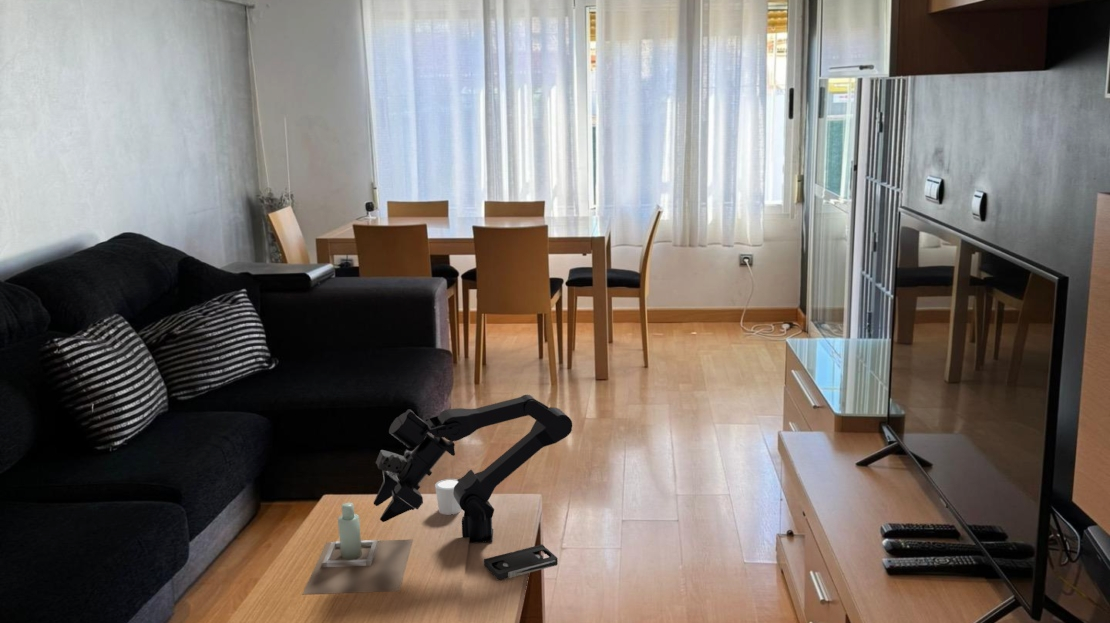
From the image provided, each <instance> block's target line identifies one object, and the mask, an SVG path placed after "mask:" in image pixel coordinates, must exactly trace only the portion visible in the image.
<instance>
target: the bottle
mask: <svg viewBox="0 0 1110 623" xmlns="http://www.w3.org/2000/svg"><path fill="white" fill-rule="evenodd" d="M354 507H355V506H354V503H352V502H344V503H343V504H341V515H340V516H339V517H337V523H338V536H339V537H338V538H339V541H340V551H341V558H342V559H344V560H354V559H357V558H359V557H361V555H362V549H361V541H362V539H361V525H360V515H359V514H357V513H355V508H354Z"/></svg>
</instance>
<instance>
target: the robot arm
mask: <svg viewBox="0 0 1110 623" xmlns="http://www.w3.org/2000/svg"><path fill="white" fill-rule="evenodd" d="M526 416H529V417H531V418H532V419H534V420H535V421H534V423H533V425H532V428H530V430H529V432H527V434H525V436H523V437H522V438H521V439H519V440H518V441H517V442H516V443H514V444H513V445H512V446H511V447H510V448H509V449H507V450H506V451H505V452H504V453H503V454H501V455H500V456H499V457H498V458H497V459H495V460H494V461H493V462H492V463H491V464H490V465H488V466H487V467H486V468H484V470H481V471H479V472H474V471H473V470H472V469H470V470H468V471H467V472H466V473H465V474H464V475H463V476H462V477H461V478H458V479H457V481H458V483H457V484H456V485H455V487H454V492H453V494H454V498H455V499H456V501H457V502H458V504H459V506H460V507H461V509H462V510H461V511H463V516H462V517H461V534H462V538H464V539H467V538H469V540H468V544H478V543H479V544H481V543H492V542H493V537H494V528H493V516H494V512H495V508H494V507H493V506H492V504H491V503H490V501H489V500H490V498H491V497H492V494H493V493H494V491H495V489H496V488H497V486H498V485H500V484H501V483H502V482H503V481H505V480H506V479H507V478H508V477H509V476H510V475H512V474H513V473H515V471H516V470H518V469H519V468H520V467H522V465H524V464H525V463H526V462H527V461H528V460H529V459H531V458H532V457H533V456H534V455H536V454H537V453H538V452H539V451H540V450H542V449H543V448H545V447H549V446H550V445H554V444H558V443H559V442H560V441H562V440H564V439H565V438H566V437H568V436H569V435H570V434H571V433H572V431H573V421H572V419H571V418H570V417H569V416H568V415H567V414H566V413H565V412H563V411H562V410H561V409H560V408H559V407H552V406H551V407H549V406H547V405H546V404H544V403H542V402H541V401H539V400H537V399H535V398H534V397H533V396H532V395H530V394H523V395H521V396H519V397H516V398H512V399H508V400H507V399H506V400H504V401H500V402H496V403H495V402H494V403H491V404H488V405H484V406H481V407H476V408H463V407H460V408H449V409H444V410H441V412H439V414H438V415H434V416H431V417H427V418H424V419H421V418H420V417H419V416H417V415H416V414H415V412H414V411H413V410H412V409H407V410H405V412H403V413H401V414H400V415H399V416H396V418H394V419H393V422H391V424H390V426H389V428H388V433H389V434H390V435H391V436H393V437H394V438H395V439H397V440H398V441H399V442H400V443H402V444H403V445H404V446H406V447H407V448H409V449H410V448H414V449H413V450H412V452H410V451H408V452H405V454H404V455H401V454H398V453H395V452H392V451H388V450H384V449H381V450H380V451H379V454H378V456H377V458H376V461H375V464H376V465H377V468H378V470H381V471H382V477H383V481H382V483H381V486H380V488H379V490H378V492H377V495H376V496H375V499H374V500H373V505H374V506H376V507H379V506H380V505H382V504H383V503H385V502H386V501H387V500H389V499H390V498H391V497H392V498H391V500H390V502H389V504H388V505H387V507H386V508H385V509H384V511H383V513H382V514H381V516H380V517H379V520H380V521H381V522H382V523H386V522H387V521H389V520H391V519H393V518H395V517H398V516H400V515H403V514H404V513H406V512H410V511H411V510H412V511H414V510H419V508H420V507H421V506H422V505H423V504H424V499H423V496H422V493H421V492H420V490H419V489H420V488H421V486H420V483H421V482H422V481H423V480H424V478H425V477H426V476H427V477H431V475H432V473H433V472H432V469H433V468H434V466H435V465H436V464H437V463H438V461H439V460H440V459H441V458H442V457H443V455H444V454H445V453H446V452H447V453H448V454H449V455H451V456H453V457H454V456H456V452H455V446H456V444H455V442H457V441H459V440H461V439H462V440H463V439H465V438H467V437H469V436H471V435H472V434H473V433H475V432H476V431H477V430H480V429H482V428H485V427H489V426H494V425H496V424H501V423H505V422H508V421H513V420H515V419H518V418H523V417H526Z"/></svg>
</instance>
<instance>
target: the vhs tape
mask: <svg viewBox="0 0 1110 623" xmlns="http://www.w3.org/2000/svg"><path fill="white" fill-rule="evenodd" d="M540 552H542V553H543V555H547V557H545V558H544V556H543V555H542V554H540ZM558 560H559V559H558V557H557V556H556V555H555V554H554V553H553V552H552V551H551V550H549V549H548V548H546V546H545V545H544V544H538V545H535V546H530V547H526V548H522V549H519V550H515V551H512V552H511V551H510V552H507V553H503V554H498V555H496V556H495V555H494V556H491V557H487V558H483V566H484V568H486V569H487V571H488V572H490V573H491V574H492V576H493V577H494V578H495V579H496V580H497V581H503V580H507V579H510V578H514V577H519V576H522V575H526V574H530V573H533V572H537V571H540V570H544V569H548V568H552V567H555V566H558V564H559V563H558Z"/></svg>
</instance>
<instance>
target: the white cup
mask: <svg viewBox="0 0 1110 623" xmlns="http://www.w3.org/2000/svg"><path fill="white" fill-rule="evenodd" d="M457 480H458V479H457V478H456V479H455V478H446V479H442V480H439V481H437V482H436V483H435V484H434V486H435V494H436V500H437V508H438V512H439V514H441V515H446V516H447V515H448V516H450V515H451V514H453V515H456V514H459V513H460V512H462V511H463V510H462V509H461V507H460V506H459V504H458V502H457V501H456V499H455V498H454V494H453V492H454V487H455V485H456V484H457V483H458V481H457Z"/></svg>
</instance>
